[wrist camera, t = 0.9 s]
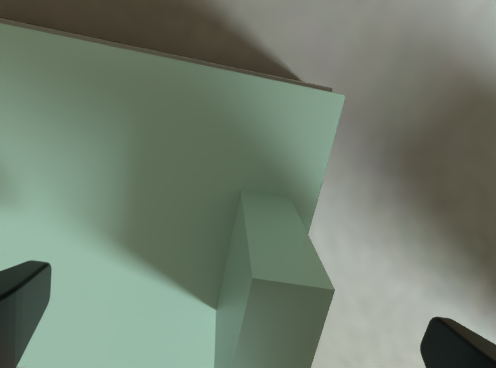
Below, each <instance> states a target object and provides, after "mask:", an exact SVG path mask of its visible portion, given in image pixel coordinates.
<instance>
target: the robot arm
mask: <svg viewBox="0 0 496 368" xmlns="http://www.w3.org/2000/svg"><path fill="white" fill-rule="evenodd" d="M51 273H52V268H51V265H50V263H48V262H42V261H35V260H29V261H26V262H24V263H21V264H18V265H15V266H13V267H10V268H7V269H5V270H2V271H0V368H16V367H17V365H18V363H19V361H20V359H21V357H22V356H23V354H24V352H25V350H26V348H27V346H28V344H29V342H30V340H31V338H32V336H33V334H34V332H35V330H36V328H37V326H38V324H39V322H40V320H41V318H42V316H43V314H44V312H45V310H46V308H47V306H48V303H49V300H50V292H51ZM420 351H421V355H422V358H423V361H424V363H425V366H426V368H496V345H495V344H494V343H492V342H490V341H488V340H487V339H485V338H483V337H482V336H480V335H478V334H476V333H475V332H473V331H471V330H469V329H468V328H466V327H464V326H463V325H461V324H459V323H457V322H456V321H454V320H452V319H449V318H443V317H434V318H432V319H431V320H430V322H429V325H428V327H427V329H426V332H425V334H424V337H423V339H422V342H421V346H420Z"/></svg>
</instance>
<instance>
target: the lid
mask: <svg viewBox="0 0 496 368" xmlns="http://www.w3.org/2000/svg"><path fill="white" fill-rule="evenodd" d="M345 97H346V95H342V94H338V93H334V92H329V91H324V90H320V89H315V88H310V87H305V86H300V85H295V84H291V83H286V82H281V81H276V80H271V79H267V78H262V77H257V76H252V75H247V74H242V73H238V72H233V71H228V70H223V69H218V68H214V67H209V66H204V65H199V64H194V63H190V62H185V61H180V60H175V59H170V58H165V57H161V56H156V55H151V54H146V53H141V52H137V51H132V50H127V49H122V48H117V47H112V46H108V45H103V44H98V43H93V42H88V41H84V40H79V39H74V38H69V37H64V36H60V35H55V34H50V33H45V32H40V31H35V30H31V29H26V28H21V27H16V26H11V25H7V24H2V23H0V271H2V270H5V269H7V268H10V267H13V266H15V265H18V264H21V263H24V262H26V261H29V260H35V261H42V262H48V263H50V265H51V268H52V273H51V292H50V300H49V303H48V306H47V308H46V310H45V312H44V314H43V316H42V318H41V320H40V322H39V324H38V326H37V328H36V330H35V332H34V334H33V336H32V338H31V340H30V342H29V344H28V346H27V348H26V350H25V352H24V354H23V356H22V357H21V359H20V361H19V363H18V365H17V367H25V368H311V365H312V362H313V359H314V355H315V352H316V349H317V346H318V343H319V339H320V336H321V333H322V330H323V326H324V323H325V320H326V317H327V313H328V310H329V307H330V304H331V300H332V297H333V294H334V291H335V289H334V287H333V285H332V283H331V281H330V279H329V277H328V275H327V273H326V271H325V269H324V267H323V264H322V262H321V260H320V258H319V256H318V254H317V252H316V250H315V248H314V246H313V244H312V242H311V240H310V238H309V236H308V233H309V230H310V226H311V222H312V219H313V215H314V211H315V208H316V204H317V200H318V196H319V193H320V189H321V185H322V182H323V178H324V174H325V171H326V167H327V163H328V160H329V156H330V152H331V149H332V145H333V141H334V138H335V134H336V130H337V126H338V123H339V119H340V115H341V112H342V108H343V104H344V101H345Z"/></svg>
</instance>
